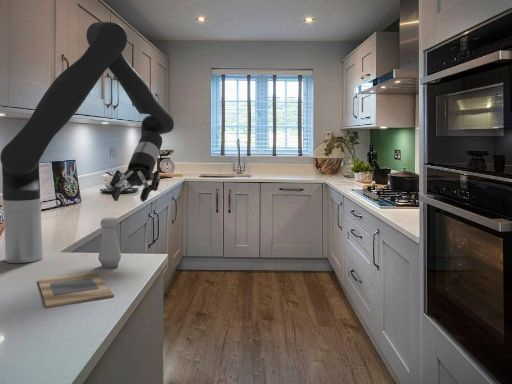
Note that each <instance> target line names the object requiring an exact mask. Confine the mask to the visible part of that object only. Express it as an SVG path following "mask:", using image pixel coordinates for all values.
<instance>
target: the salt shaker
mask: <svg viewBox="0 0 512 384" xmlns="http://www.w3.org/2000/svg"><path fill="white" fill-rule="evenodd" d="M117 226H118V219H117V218H116V217H104V218H102V219H101V220H100V227H101V228H103V229H102V234H101V239H100V240H101V241H100V247H99V251H98V259H97V260H98V261H99V263H100V265H101V266H102V268H103V267H106V268H105V269H111V268H112V267H113V268H117V266H119V264H120V261H121V258H122V253H121V249H120V244H119V239H118V235H117V234H118V233H117V229H116V227H117Z"/></svg>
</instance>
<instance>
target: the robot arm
mask: <svg viewBox="0 0 512 384" xmlns="http://www.w3.org/2000/svg"><path fill="white" fill-rule="evenodd" d="M85 33H86V41H87V43H88V45H89V46H88V48H87V49H86V50H85V52H84V53H83V54H82V55H81V56H80V57H79V58H78V59H77V60H76V61H75V62H73V63H72V64H71V65H70V66H68V67H66V68H65V69H64V70H63V71H62V72H61V73H60V74H59V75H58V76H57V77H56V78H55V79H54V81H53V82H52V83H51V84H50V86H49V87H48V89H47V90H46V91H45V93H44V94H43V95H42V97H41V99H40V100H39V102H38V103H37V105H36V107H35V108H34V111H33V112H32V114H31V116H30V117H29V120H28V121H27V123H26V124H25V125H24V126H23V127H22V129H20V131H18V133H17V134H16V135H14V137H13V138H12V139H11V140H10V141H9V142H8V143H7V144H6V145H5V146H4V147H3V148H2V150H1V152H0V163H1V169H2V170H1V171H2V174H1V175H2V189H1V190H2V191H1V192H2V205H3V206H2V208H3V209H2V210H3V229H4V251H5V252H4V253H5V262H6V263H9V264H25V263H33V262H37V261H39V260H41V259H43V233H42V231H43V230H42V208H41V205H42V203H41V180H40V160H41V158H42V157H43V155H44V152H45V150H47V147H48V146H49V144H50V143H51V141H52V140H53V139H54V137H55V136H56V135H57V134H58V133H59V132H60V130H62V129H63V127H64V126H65V125H66V124H68V122H69V121H70V120H71V119H72V118H73V117H74V115H75V114H76V113H77V111H78V110H79V108H80V107H81V106H82V104H83V103H84V101H85V100H86V99H87V97H88V96H89V94H90V93H91V91H92V90H93V89H94V87H95V86H96V85H97V83H98V82H99V80H100V78H101V77H102V75H103V74H104V73H105V72H106V71H107V70H108V69H109V71H110V72H111V73H112V74H113V76H114V78H115V79H116V80H117V82H118V83H119V84H120V86H121V87H122V89H123V90H124V92H125V93H126V95H127V96H128V99H129V100H130V101H131V103H132V105H133V106H134V108H135V109H136V111H137V112H138V113H139V114H142V115H144V114H145V115H146V116H145V117H144V118H143V119H142V121H141V128H140V129H141V130H140V138H139V140H138V144H137V146H136V147H135V149H134V150H133V153H132V156H131V158H130V160H129V162H128V166H127V169H126V171H125V172H123V171H122V172H121V171H120V170H117V169H116V171H115V173H114V174H113V177H112V178H111V180H110V181H109V185H110V187H111V188H112V190H113V191H112V194H111V197H112V199H113V201H114V202H118V201H119V198H120V195H121V193H122V191H124V190H125V189H128V188H129V187H130V186H131V187H135V186H137V187H141V186H143V187H142V190H141V192H140V193H141V194H140V197H139V198H140V201H141V202H143V203H145V201H147V200H148V197H149V195H150V193H151V192H153V191H154V192H156V191H158V188H159V185H160V180H161V174H160V172H159V171H158V170H155V166H156V164H157V162H158V159H159V153H160V151H161V148H162V146H163V138H162V136H161V135H163V134H169V133H171V132H173V130H174V128H175V127H174V126H175V122H174V121H175V120H174V118H173V117H172V115H171V114H170V112H169V111H168V110H167V109H166V108H165V107H164V106H163V105H162V104H161V103H160V102H159V101H158V100H157V99H156V98H155V96H154V94H153V91H152V90H151V89H150V88H149V86H148V84H147V83H146V82H145V80H144V79H143V77H142V76H141V75H140V74H139V73H138V72H137V71H136V70H135V69H134V67H132V65H131V64H130V63H129V62H128V60H127V59H126V58H125V55H124V54H123V52H124V50H125V49H126V46H127V43H128V33H127V32H126V30H125V28H124V27H123V26H122V25H121V24H120V23H118V22H115V21H95V22H93V23H91V24H90V25H89V26H88V28H87V29H86V32H85ZM154 170H155V171H154ZM151 179H152V180H151ZM150 180H151V184H149V183H148V181H150ZM126 182H127V183H126Z"/></svg>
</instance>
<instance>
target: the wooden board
mask: <svg viewBox="0 0 512 384" xmlns="http://www.w3.org/2000/svg"><path fill="white" fill-rule="evenodd" d="M37 281H38V284H39V286H38V287H39V288H40V292H41V295H42V298H43V302H44V304H45V307H46V308H51V307H58V306H64V305H70V304H71V305H72V304H76V303H83V302H90V301H96V300H102V299H108V298H113V297H115V296H114V294H115V293H113V291H111V289H110V288H109V287H108V285H107V284H106V283H105V282H104V281H103V279H102V278H101V277H100V275H99V274H98V273H97V272H96V271H90V272H82V273H76V274H67V275H60V276H59V275H58V276H51V277H43V278H38V279H37Z"/></svg>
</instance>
